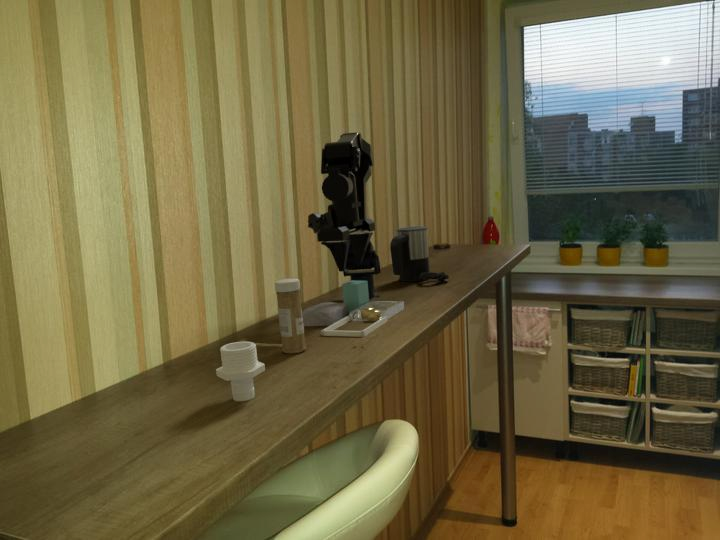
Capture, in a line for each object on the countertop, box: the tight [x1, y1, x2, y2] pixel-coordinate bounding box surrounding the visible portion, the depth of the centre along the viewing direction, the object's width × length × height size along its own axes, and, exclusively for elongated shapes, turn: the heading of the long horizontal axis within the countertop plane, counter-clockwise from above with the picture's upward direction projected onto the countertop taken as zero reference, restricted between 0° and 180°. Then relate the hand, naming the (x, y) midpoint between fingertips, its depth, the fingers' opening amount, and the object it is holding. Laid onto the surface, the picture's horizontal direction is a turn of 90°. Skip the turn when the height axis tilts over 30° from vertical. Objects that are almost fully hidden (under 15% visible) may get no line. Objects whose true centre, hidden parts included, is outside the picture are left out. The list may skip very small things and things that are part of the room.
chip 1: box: [361, 307, 374, 318], centre depth 142 cm, size 3×3×2 cm
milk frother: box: [389, 226, 450, 282], centre depth 182 cm, size 14×16×15 cm
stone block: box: [302, 301, 349, 327], centre depth 143 cm, size 12×5×10 cm
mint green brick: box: [341, 280, 370, 313], centre depth 149 cm, size 4×4×7 cm
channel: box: [348, 300, 405, 322], centre depth 144 cm, size 12×8×2 cm
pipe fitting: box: [215, 341, 266, 402], centre depth 97 cm, size 6×7×8 cm
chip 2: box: [367, 309, 381, 322], centre depth 139 cm, size 3×3×2 cm
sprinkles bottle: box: [274, 277, 307, 355], centre depth 120 cm, size 5×5×14 cm
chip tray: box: [320, 315, 388, 338], centre depth 133 cm, size 12×9×1 cm
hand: (350, 267), depth 148 cm, fingers open, 9 cm apart
